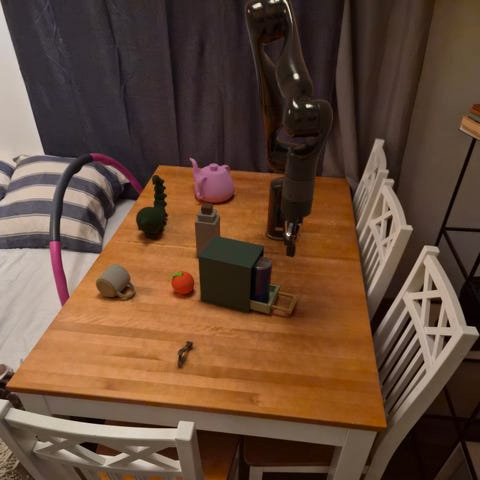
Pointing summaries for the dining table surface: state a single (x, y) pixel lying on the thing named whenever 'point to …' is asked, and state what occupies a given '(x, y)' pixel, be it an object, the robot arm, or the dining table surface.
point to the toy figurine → (153, 211)
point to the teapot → (212, 182)
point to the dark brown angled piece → (188, 345)
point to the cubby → (228, 272)
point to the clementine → (182, 282)
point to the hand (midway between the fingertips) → (290, 255)
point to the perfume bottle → (206, 226)
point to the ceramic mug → (114, 281)
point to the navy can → (261, 280)
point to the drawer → (273, 301)
